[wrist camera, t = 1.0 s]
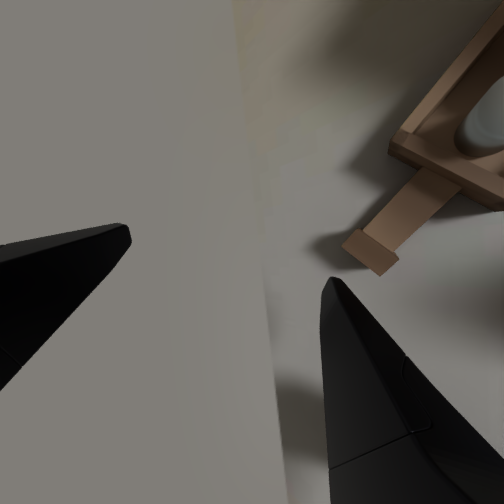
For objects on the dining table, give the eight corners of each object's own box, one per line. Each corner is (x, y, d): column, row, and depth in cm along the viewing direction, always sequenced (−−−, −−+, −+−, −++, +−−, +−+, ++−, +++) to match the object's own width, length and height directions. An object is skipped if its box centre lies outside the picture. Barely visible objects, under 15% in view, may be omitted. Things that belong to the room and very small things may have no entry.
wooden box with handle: (403, 286, 15) (414, 309, 11) (326, 227, 17) (311, 228, 13) (722, 25, 8) (1040, -156, 4) (526, -13, 10) (615, -153, 7)
